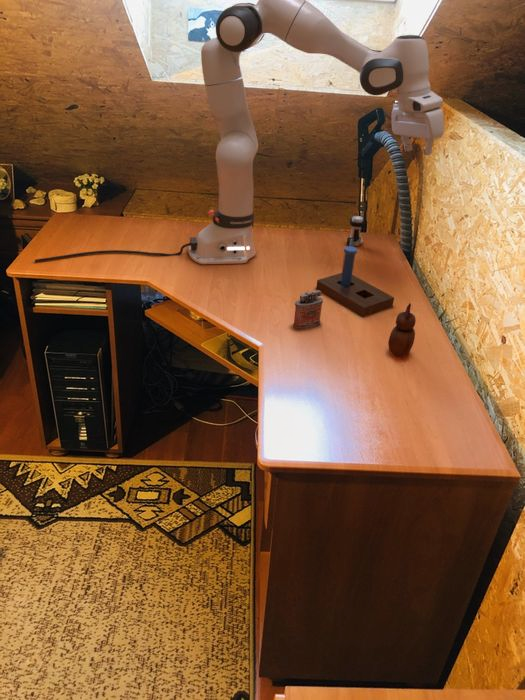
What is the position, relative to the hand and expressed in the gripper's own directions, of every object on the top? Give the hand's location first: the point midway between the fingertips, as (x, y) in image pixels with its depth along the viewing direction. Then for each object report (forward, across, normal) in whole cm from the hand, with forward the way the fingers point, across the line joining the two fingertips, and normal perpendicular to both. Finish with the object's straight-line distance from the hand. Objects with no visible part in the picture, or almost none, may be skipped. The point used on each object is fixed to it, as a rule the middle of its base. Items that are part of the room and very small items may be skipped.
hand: (417, 152), depth 163 cm
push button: (+34, -32, -8) cm, 47 cm away
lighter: (+32, +16, -48) cm, 60 cm away
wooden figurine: (+38, +34, -32) cm, 60 cm away
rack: (+34, +4, -28) cm, 45 cm away
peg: (+34, +1, -29) cm, 44 cm away
